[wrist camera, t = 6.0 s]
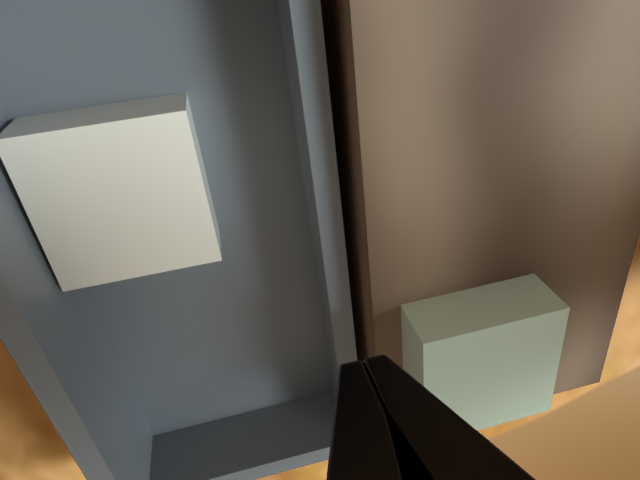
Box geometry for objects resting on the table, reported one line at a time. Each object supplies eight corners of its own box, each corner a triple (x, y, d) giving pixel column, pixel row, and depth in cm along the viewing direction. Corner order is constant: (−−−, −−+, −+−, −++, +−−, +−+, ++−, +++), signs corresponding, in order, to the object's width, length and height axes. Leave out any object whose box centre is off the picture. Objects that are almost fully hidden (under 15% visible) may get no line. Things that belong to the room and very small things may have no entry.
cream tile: (-8, 140, 13) (15, 117, 15) (62, 291, 16) (75, 258, 17) (185, 110, 14) (186, 92, 15) (221, 260, 16) (219, 231, 18)
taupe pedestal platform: (616, -105, 16) (732, -119, 12) (545, 323, 25) (599, 381, 22) (309, -63, 14) (344, -65, 11) (355, 371, 24) (382, 440, 21)
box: (287, -102, 14) (329, -123, 10) (347, 387, 24) (379, 479, 20) (-97, -54, 13) (-242, -54, 8) (141, 440, 23) (130, 549, 19)
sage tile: (534, 273, 18) (570, 307, 16) (520, 372, 20) (549, 410, 19) (400, 304, 17) (423, 344, 15) (404, 402, 20) (423, 444, 18)
